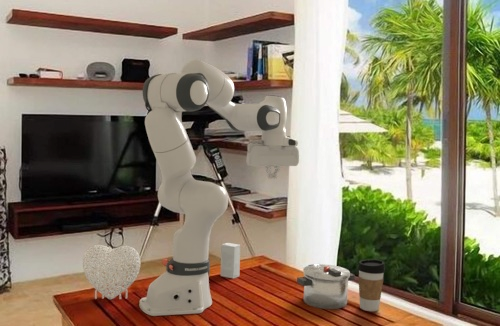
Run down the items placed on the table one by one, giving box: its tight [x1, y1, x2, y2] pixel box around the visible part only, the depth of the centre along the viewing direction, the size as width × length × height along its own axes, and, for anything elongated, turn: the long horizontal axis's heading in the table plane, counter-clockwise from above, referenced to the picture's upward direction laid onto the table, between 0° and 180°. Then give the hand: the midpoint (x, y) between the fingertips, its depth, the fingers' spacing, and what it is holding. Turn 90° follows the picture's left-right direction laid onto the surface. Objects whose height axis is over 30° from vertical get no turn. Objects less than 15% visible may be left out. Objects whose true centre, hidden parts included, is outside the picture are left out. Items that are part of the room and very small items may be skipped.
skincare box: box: [220, 242, 241, 280], centre depth 189 cm, size 6×4×12 cm
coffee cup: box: [357, 259, 386, 312], centre depth 161 cm, size 8×8×15 cm
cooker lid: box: [302, 263, 351, 281], centre depth 166 cm, size 15×16×2 cm
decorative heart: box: [82, 244, 142, 300], centre depth 161 cm, size 18×11×17 cm, turn 90°
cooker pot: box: [296, 272, 356, 310], centre depth 166 cm, size 20×14×9 cm
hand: (272, 178), depth 187 cm, fingers closed
